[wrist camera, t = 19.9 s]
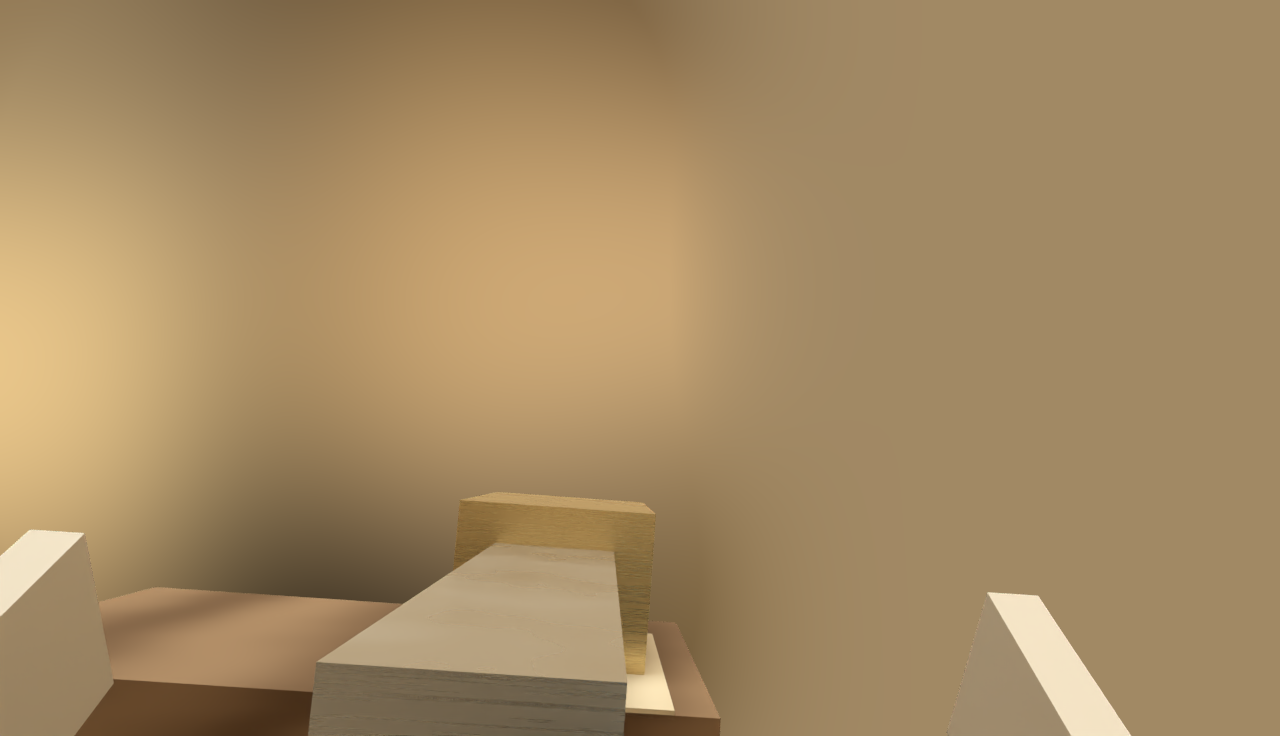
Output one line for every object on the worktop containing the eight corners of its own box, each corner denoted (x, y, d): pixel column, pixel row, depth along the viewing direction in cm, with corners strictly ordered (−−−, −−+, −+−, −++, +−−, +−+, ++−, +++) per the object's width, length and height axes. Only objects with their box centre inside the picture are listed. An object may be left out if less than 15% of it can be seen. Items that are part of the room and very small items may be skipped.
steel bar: (168, 991, 8) (225, 549, 9) (487, 610, 30) (497, 492, 30) (709, 1019, 8) (736, 585, 9) (634, 620, 30) (642, 502, 31)
